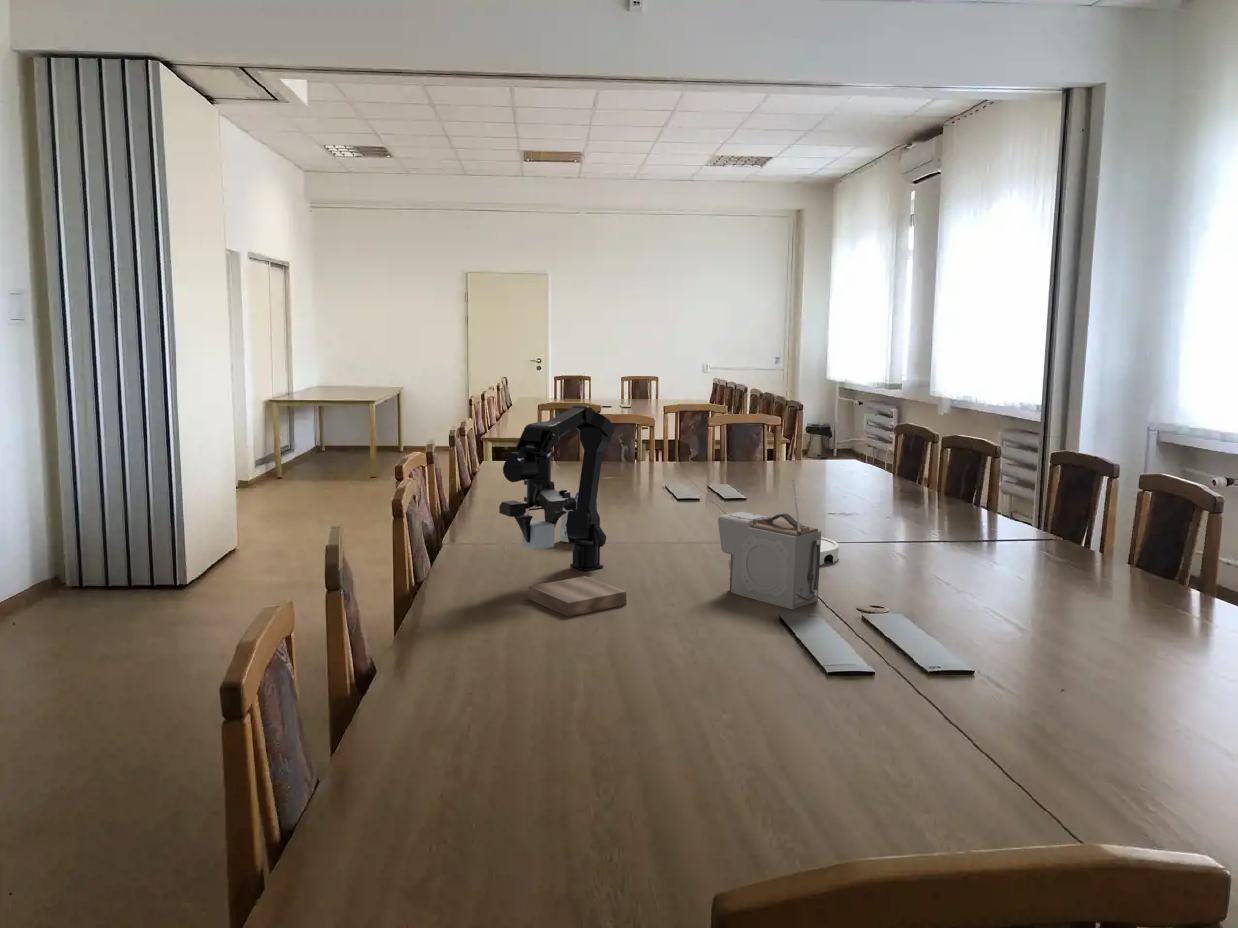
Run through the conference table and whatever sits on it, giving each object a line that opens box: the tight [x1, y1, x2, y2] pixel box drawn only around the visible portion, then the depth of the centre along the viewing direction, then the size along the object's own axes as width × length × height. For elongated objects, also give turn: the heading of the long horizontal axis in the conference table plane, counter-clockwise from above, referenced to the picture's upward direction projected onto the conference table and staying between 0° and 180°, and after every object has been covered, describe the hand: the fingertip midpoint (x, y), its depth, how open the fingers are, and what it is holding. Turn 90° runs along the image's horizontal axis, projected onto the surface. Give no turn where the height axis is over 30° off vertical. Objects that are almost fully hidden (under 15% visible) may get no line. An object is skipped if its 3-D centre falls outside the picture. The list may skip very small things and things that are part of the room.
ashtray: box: [820, 536, 840, 566], centre depth 256 cm, size 23×23×4 cm
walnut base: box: [528, 575, 627, 617], centre depth 207 cm, size 16×16×3 cm
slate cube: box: [522, 519, 555, 551], centre depth 218 cm, size 6×6×6 cm
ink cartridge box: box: [559, 491, 598, 543], centre depth 266 cm, size 10×6×14 cm, turn 59°
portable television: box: [717, 478, 822, 610], centre depth 213 cm, size 12×24×30 cm, turn 44°
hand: (538, 540), depth 219 cm, fingers closed on slate cube, 5 cm apart
